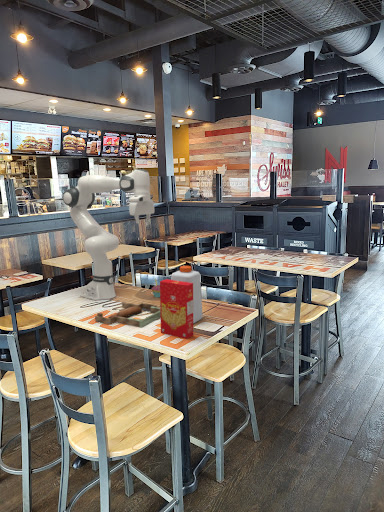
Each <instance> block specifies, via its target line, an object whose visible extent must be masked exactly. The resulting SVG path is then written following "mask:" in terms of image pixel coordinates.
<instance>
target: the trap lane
mask: <svg viewBox="0 0 384 512" xmlns="http://www.w3.org/2000/svg"><path fill="white" fill-rule="evenodd" d="M135 306H139V307H141V309H142V312H143V311H144V312H147V313H151V314H150V315H149V316H146V317H145V318H143V319H138V318H132V317H125V318H124V317H119V316H114V317H112V318H108V317H104V314H103V313H101V312H97V314H96V315H95V316H94V319H95V323H99V322H100V324H104V323H105V324H104V325H109V324H111V325H112V323H113V324H115V323H116V322H118V323H117V324H121V323H122V324H121V325H126V326H131V327H136V328H144V327H145V326H147V325H149V324H150V323H152V322H154V321H156V320H158V319H159V318H160V319H161V314H160V307H158V305H155V304H151V303H145V302H142V303H140V304H137V303H129V302H122V303H121V309H127V308H130V307H135ZM114 322H115V323H114Z"/></svg>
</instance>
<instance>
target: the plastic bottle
mask: <svg viewBox="0 0 384 512" xmlns="http://www.w3.org/2000/svg"><path fill="white" fill-rule="evenodd" d="M170 280H176V281H182V282H189V283H193V325H194V324H195V323H197V322H198V321H200V320H202V319H203V317H204V315H203V301H202V286H201V284H202V283H201V273H200V272H199V271H196V270H192V266H191V265H181V266H180V267H179V270H177V271H175V272H172V274H171V277H170Z"/></svg>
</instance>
